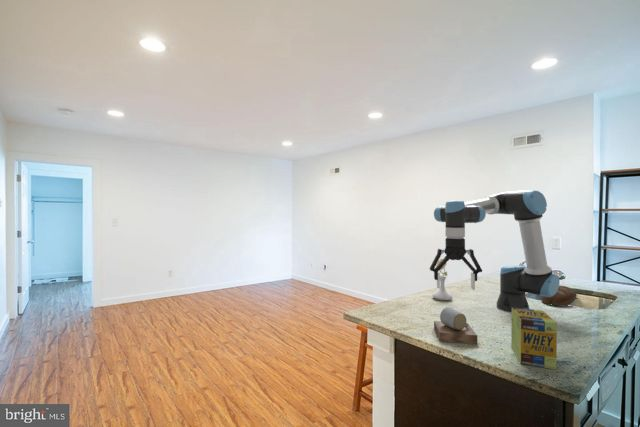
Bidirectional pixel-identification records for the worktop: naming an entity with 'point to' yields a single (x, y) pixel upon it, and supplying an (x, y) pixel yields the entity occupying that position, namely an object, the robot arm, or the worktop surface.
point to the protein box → (534, 337)
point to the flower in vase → (442, 286)
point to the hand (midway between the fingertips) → (455, 288)
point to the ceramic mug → (453, 318)
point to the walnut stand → (455, 334)
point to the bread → (561, 297)
